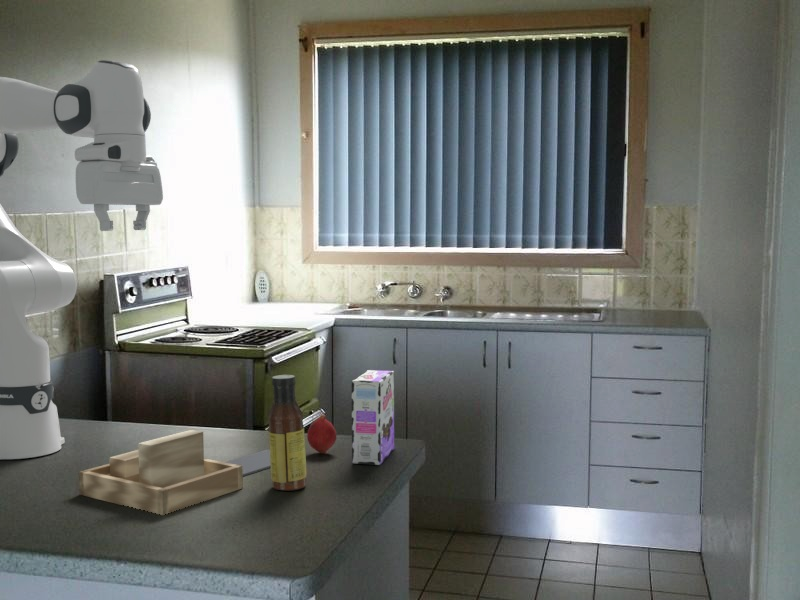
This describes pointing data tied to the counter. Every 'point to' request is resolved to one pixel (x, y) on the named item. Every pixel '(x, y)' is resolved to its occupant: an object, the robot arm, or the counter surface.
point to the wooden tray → (162, 500)
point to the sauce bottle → (286, 437)
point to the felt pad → (253, 462)
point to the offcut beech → (125, 464)
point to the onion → (321, 435)
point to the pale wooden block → (171, 459)
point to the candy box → (372, 417)
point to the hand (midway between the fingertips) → (123, 230)
